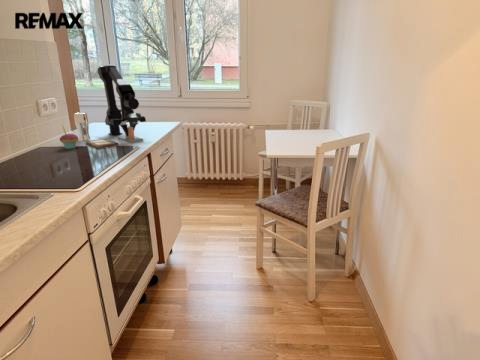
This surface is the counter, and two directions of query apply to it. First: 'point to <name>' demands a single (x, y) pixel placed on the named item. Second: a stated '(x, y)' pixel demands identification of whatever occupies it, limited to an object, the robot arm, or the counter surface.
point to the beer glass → (82, 125)
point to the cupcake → (69, 140)
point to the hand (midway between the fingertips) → (129, 135)
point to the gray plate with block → (130, 136)
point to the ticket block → (102, 143)
